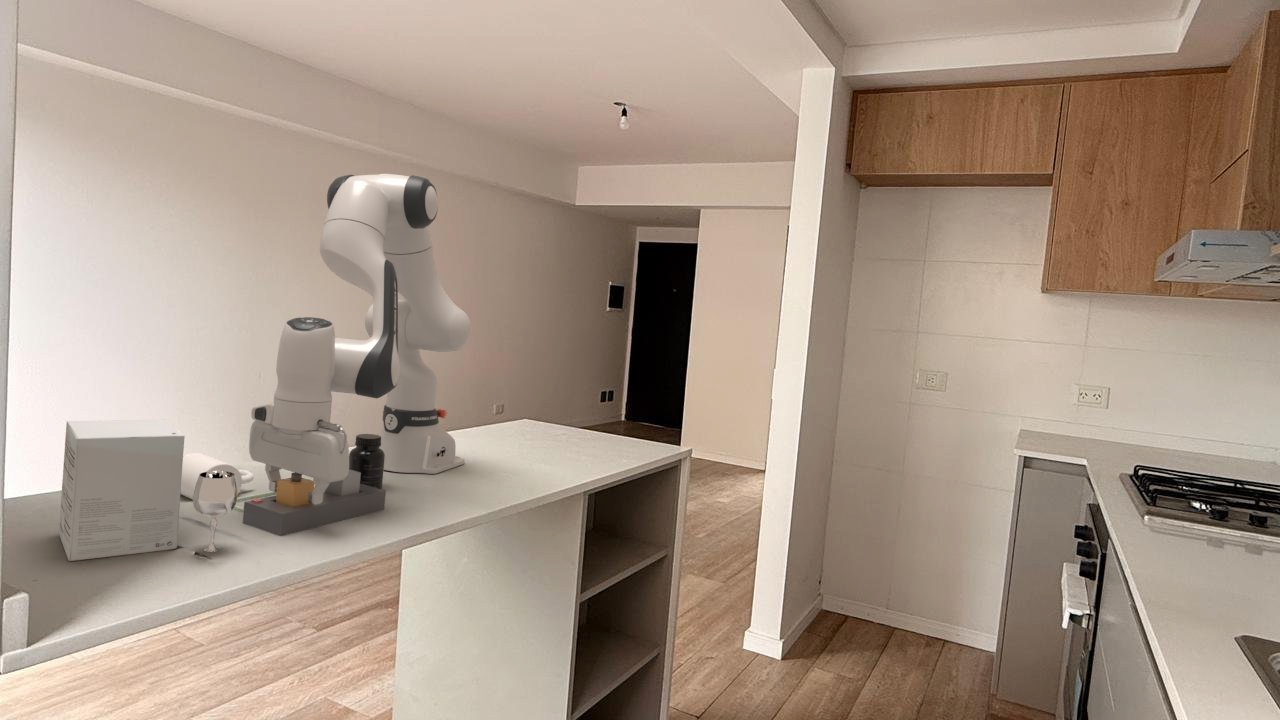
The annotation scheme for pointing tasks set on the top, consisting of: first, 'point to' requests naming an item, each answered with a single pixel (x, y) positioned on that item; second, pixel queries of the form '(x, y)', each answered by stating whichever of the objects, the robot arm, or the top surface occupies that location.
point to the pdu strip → (311, 511)
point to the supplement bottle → (368, 460)
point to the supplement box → (120, 488)
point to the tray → (252, 498)
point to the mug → (205, 463)
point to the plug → (294, 490)
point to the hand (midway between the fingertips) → (295, 497)
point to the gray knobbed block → (345, 485)
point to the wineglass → (214, 499)
